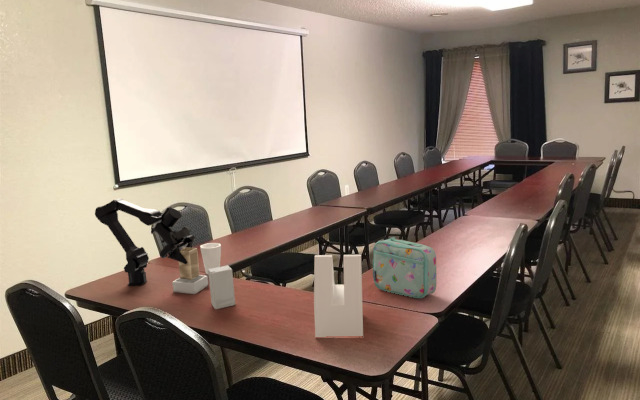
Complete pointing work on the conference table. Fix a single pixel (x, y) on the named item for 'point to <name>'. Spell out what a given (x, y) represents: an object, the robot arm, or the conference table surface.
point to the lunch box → (404, 268)
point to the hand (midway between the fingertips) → (191, 261)
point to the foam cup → (211, 255)
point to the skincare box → (221, 287)
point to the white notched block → (338, 298)
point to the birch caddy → (189, 263)
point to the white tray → (190, 284)
